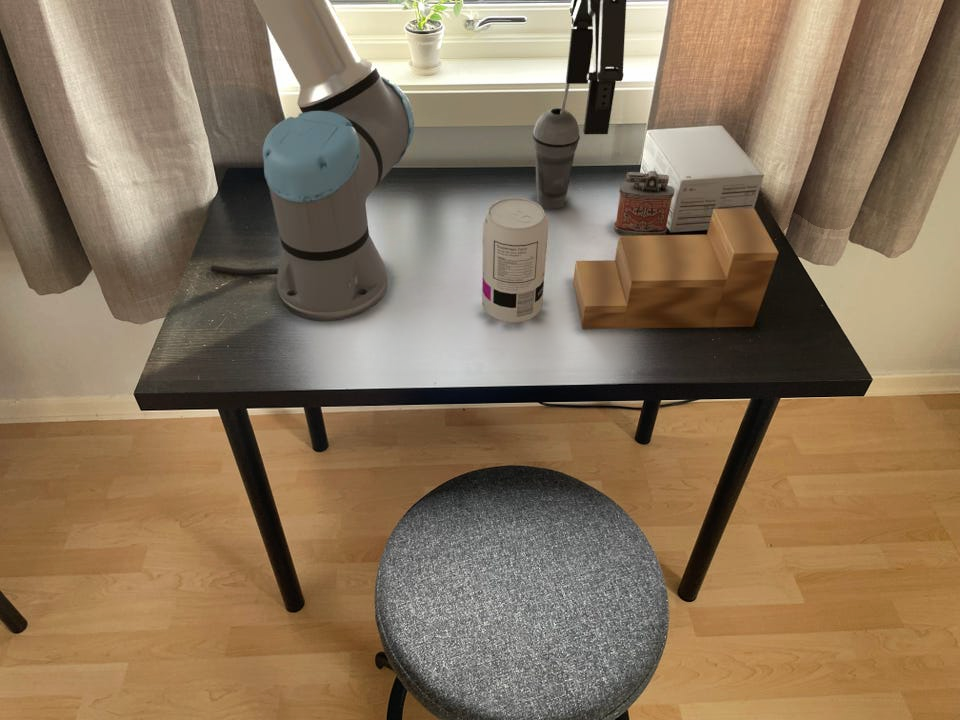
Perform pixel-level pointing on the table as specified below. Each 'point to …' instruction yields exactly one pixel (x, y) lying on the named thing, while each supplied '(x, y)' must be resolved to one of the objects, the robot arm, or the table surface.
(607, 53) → the robot arm
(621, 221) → the lighter
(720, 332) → the table surface
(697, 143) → the supplement box
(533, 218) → the supplement can
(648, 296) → the step shelf
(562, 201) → the beverage cup
